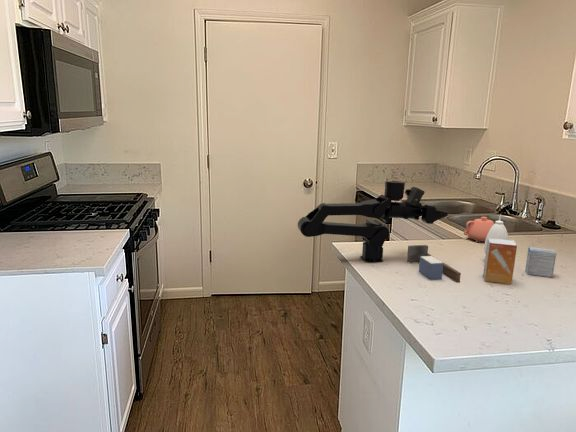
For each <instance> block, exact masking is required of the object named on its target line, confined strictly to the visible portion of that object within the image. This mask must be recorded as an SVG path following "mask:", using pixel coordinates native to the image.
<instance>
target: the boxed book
mask: <svg viewBox="0 0 576 432" xmlns="http://www.w3.org/2000/svg"><path fill="white" fill-rule="evenodd" d="M434 257H435V256H433V255H431V256H421V257H420V262H418V264H419V266H418V273H419V274H421V275H422V276H424V277H425V278H427V279H428V280H429V281H437V280H438V281H439V280H440V281H441V280H442V279H443V263H444V262H443V261H442V262H441V260H440V259H438V258H436V257H435V258H434ZM439 260H440V261H439Z"/></svg>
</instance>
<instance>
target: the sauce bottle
mask: <svg viewBox="0 0 576 432" xmlns="http://www.w3.org/2000/svg"><path fill="white" fill-rule="evenodd" d="M501 217H502V214H501V213H500V214H499V217H498V220H495V223H494V225H493V226H492V227H491V229H490V230H489V232H488V234H487V237H486V240H485V242H484V254H485V255H486V248H487V240H488V238H491V239H503V240H510V239H509V234H508V230H507V228H506V226H505V225H504V221H502V220H501Z"/></svg>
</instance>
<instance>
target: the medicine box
mask: <svg viewBox="0 0 576 432" xmlns="http://www.w3.org/2000/svg"><path fill="white" fill-rule="evenodd" d="M556 257H557V252H556V251H555V250H554V248H553V249H552V248H551V249H550V248H541V247H531V246H528V248H527V255H526V261H525V262H526V263H525V273H526V275H527V276H528V275H530V276H537V277H538V276H539V277H546V278H547V277H548V278H554V271H555V265H556V259H557V258H556Z"/></svg>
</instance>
